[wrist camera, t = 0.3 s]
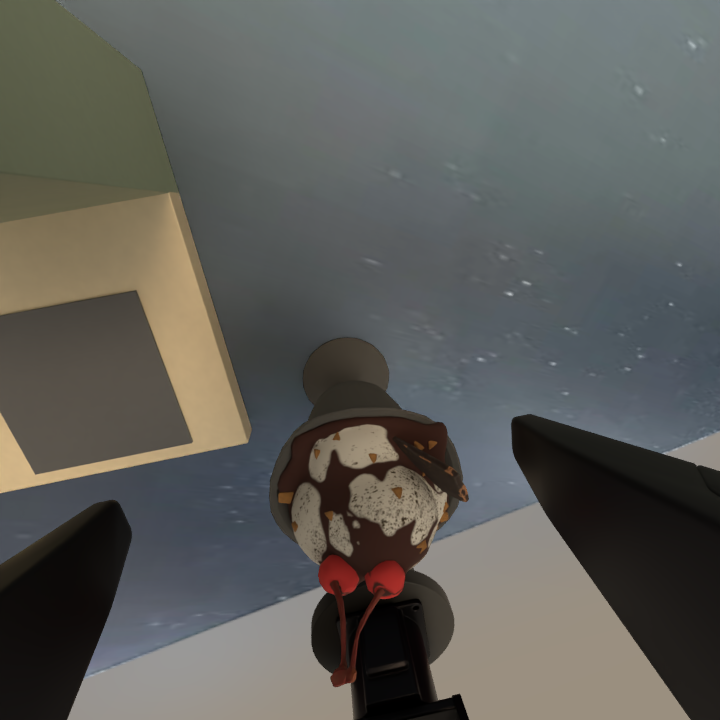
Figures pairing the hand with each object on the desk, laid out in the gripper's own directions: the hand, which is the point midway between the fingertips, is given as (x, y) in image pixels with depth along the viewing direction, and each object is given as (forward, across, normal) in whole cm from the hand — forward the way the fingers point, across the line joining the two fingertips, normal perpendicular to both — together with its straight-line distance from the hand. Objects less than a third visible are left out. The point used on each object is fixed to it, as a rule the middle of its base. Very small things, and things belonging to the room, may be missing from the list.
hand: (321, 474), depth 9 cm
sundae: (+14, -1, +4) cm, 14 cm away
